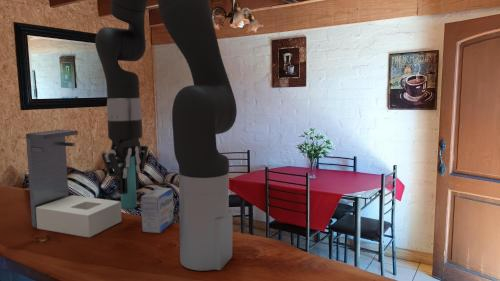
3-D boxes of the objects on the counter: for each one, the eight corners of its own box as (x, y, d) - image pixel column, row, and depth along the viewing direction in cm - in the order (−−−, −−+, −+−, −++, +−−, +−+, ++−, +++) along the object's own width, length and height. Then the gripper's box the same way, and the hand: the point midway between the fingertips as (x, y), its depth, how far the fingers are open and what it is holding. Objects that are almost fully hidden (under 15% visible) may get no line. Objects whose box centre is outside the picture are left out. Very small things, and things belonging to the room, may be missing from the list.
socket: (121, 221, 93) (120, 201, 92) (89, 237, 82) (88, 215, 82) (73, 213, 98) (72, 195, 97) (37, 228, 87) (35, 207, 87)
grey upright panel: (81, 216, 96) (77, 130, 93) (49, 229, 87) (43, 134, 84) (65, 213, 98) (61, 129, 95) (32, 226, 88) (25, 133, 85)
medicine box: (159, 234, 85) (159, 196, 84) (141, 232, 86) (140, 195, 85) (173, 222, 93) (173, 188, 92) (156, 220, 94) (156, 186, 92)
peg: (140, 205, 90) (137, 155, 88) (130, 209, 86) (128, 158, 85) (127, 204, 91) (125, 155, 89) (118, 208, 87) (115, 157, 86)
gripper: (117, 120, 78) (121, 201, 80) (156, 116, 91) (159, 185, 93) (88, 120, 81) (93, 198, 83) (130, 116, 94) (134, 183, 96)
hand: (128, 191), depth 88 cm, fingers closed on peg, 3 cm apart
